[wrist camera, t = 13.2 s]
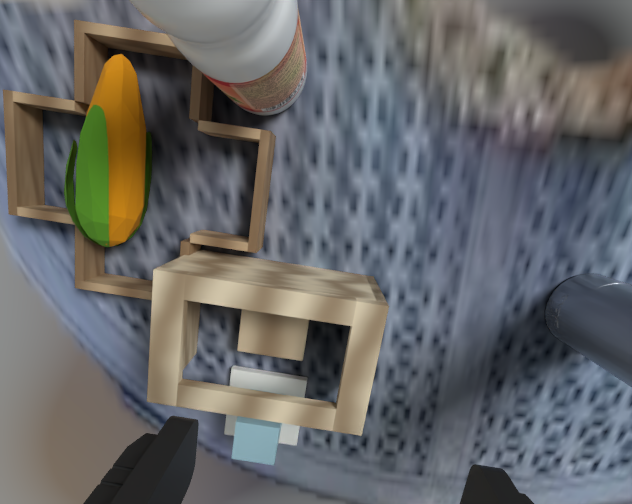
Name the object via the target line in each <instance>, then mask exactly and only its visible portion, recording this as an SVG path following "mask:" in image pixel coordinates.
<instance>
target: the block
mask: <svg viewBox="0 0 632 504" xmlns="http://www.w3.org/2000/svg"><path fill="white" fill-rule="evenodd" d="M251 390H253V389H251ZM257 391H259V390H257ZM264 392H266V391H264ZM270 393H272V392H270ZM276 394H279V393H276ZM283 395H285V394H283ZM281 426H282V423H278V422H272V421H266V420H259V419H253V418H247V417H240V416H238V417H237V420H236V425H235V434H234V442H233V451H232V459H237V460H243V461H250V462H256V463H263V464H269V465H274V463H275V458H276V452H277V447H278V442H279V437H280V432H281Z"/></svg>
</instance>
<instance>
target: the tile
mask: <svg viewBox="0 0 632 504" xmlns="http://www.w3.org/2000/svg"><path fill="white" fill-rule="evenodd" d="M307 378H308V377H303V376H296V375H290V374H284V373H277V372H271V371H265V370H258V369H252V368H246V367H239V366H233V367H232V369H231V376H230V386H232V387H238V388H245V389H253V390H259V391H266V392H272V393H279V394H285V395H289V396H295V397H302V398H304V397H305V391H306V385H307ZM237 417H238V416H234V415H228V414H226V423H225V432H224V434H226V435H232V436H234V434H235V425H236V420H237ZM299 428H300V426H297V425H291V424H285V423H282V426H281V432H280V437H279V442H278V443H282V444H289V445H295V446H297V440H298V434H299Z"/></svg>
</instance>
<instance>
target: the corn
mask: <svg viewBox="0 0 632 504" xmlns="http://www.w3.org/2000/svg"><path fill="white" fill-rule="evenodd" d="M76 152H77V144H76V141H75V140H73V144H72V147H71V151H70V154H69V158H68V161H67V165H66V175H65V187H64V196H65V202H66V206H67V209H68V211H69V214H70V216H71V219H72V221H73V223H74V224H75V225H76V227H77V228H78V229H79V231H80V232H81V233H82V235H83V236H85V237H86V238H88V239H89V240H91V241H93V242H94V243H96V244H97V245H102V246H105V247H112V246H118V245H120V244H122V243H123V242H125V241H127V240H128V239H130V238H132V237H133V235H134V234H135V232H136V231H137V230H138V228H139V227H140V226H141V224H142V221H143V219H144V216H145V213H146V211H147V205H148V198H149V191H150V184H151V172H152V140H151V133H150V132H146V125H145V119H144V114H143V108H142V102H141V97H140V91H139V85H138V80H137V74H136V72H135V70H134V68H133V66H132V65H131V63H130V61H129V60H128V59H127V58H126V57H125V56H124V55H122V54H118V55H114V56H112V57H111V58H110V59H109V60H108V61H107V62H106V63H105V64H104V67H103V70H102V73H101V75H100V78H99V81H98V84H97V86H96V89H95V92H94V95H93V98H92V100H91V103H90V106H89V109H88V111H87V114H86V119H85V122H84V125H83V128H82V130H81V133H80V140H79V148H78V155H77V163H76V204H75V200H74V183H73V175H74V166H75V157H76Z"/></svg>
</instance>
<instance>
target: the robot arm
mask: <svg viewBox="0 0 632 504" xmlns="http://www.w3.org/2000/svg"><path fill="white" fill-rule="evenodd" d="M545 319H546V323H547V326H548V328H549V329H550V331H551V333H552V334H553V335H554V336H555V337H556V338H558V339H560V340H561V341H563V342H564V343H566V344H567V345H569V346H570V347H572V348H573V349H575V350H576V351H578V352H579V353H581V354H582V355H583V356H585V357H586V358H588V359H589V360H591V361H593V362H594V363H596V364H597V365H599V366H600V367H602V368H603V369H605V370H606V371H608V372H609V373H611V374H612V375H614V376H615V377H617V378H618V379H620V380H622V381H623V382H625V383H626V384H628V385H629V386H631V387H632V285H631V284H627V283H624V282H621V281H618V280H615V279H612V278H609V277H606V276H602V275H598V274H582V275H578V276H575V277H572V278H570V279H568V280H566V281H565V282H563V283H562V284H561V285H559V286H558V287H557V288H556V289H555V290H554V292H553V293H552V295H551V296H550V298H549V300H548V303H547V306H546V311H545ZM197 436H198V420H196V419H190V418H184V417H177V416H171V417H170V418H169V419H168V420H167V422H166V423H165V424H164V426H163V427H162V429H161V430H160V432H159V433H158V435H155V434H149V433H146V434H144V435H143V436H142V437H140V438H139V439H137V440H136V441H135V442H133V443H132V444H131V445H129V446H128V447H127V448H126V449H125V451H124V452H123V453H122V455H121V456H120V457H119V458H118V460H117V461H116V462H115V463H114V465H113V468H112V469H110V470H109V471H108V473H107V474H106V475H105V476H104V478H103V479H102V480H101V483H100V485H98V486H97V487H96V488H95V489H94V491H93V492H92V493H91V495H90V496H89V497H88V499H87V500H86V501H85V502H84V504H181V503H182V501H183V498H184V496H185V494H186V492H187V489H188V487H189V485H190V482H191V479H192V475H193V471H194V467H195V459H196V447H197ZM460 504H534V503H533V502H532V501H531V500H530V499H529V498H528V497H527V496H526V495H525V494H522V493H519V492H518V490H517V489H516V487H515V486H514V484H513V482H512V481H511V479H510V478H509V476H508V475H507V473H506V472H505V471H504V470H503V469H501V468H495V467H488V466H482V465H473V466H472V467H471V469H470V471H469V475H468V478H467V481H466V485H465V488H464V492H463V495H462V498H461V502H460Z"/></svg>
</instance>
